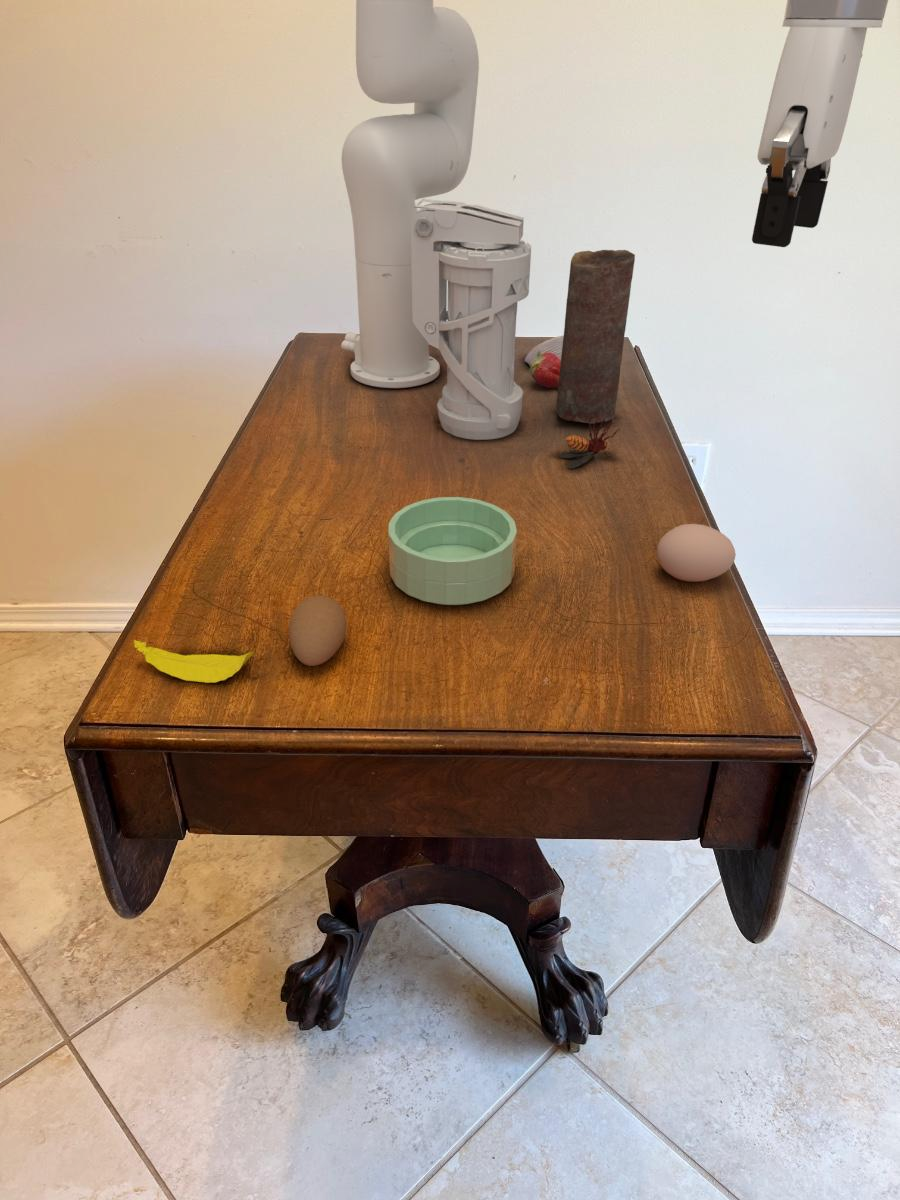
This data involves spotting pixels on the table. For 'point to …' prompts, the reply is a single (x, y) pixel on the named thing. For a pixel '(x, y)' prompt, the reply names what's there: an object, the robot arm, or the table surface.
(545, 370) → the fruit
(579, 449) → the insect
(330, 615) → the egg
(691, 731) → the table surface
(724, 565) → the egg
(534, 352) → the seashell
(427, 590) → the bowl
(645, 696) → the table surface
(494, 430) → the lantern
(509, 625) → the table surface
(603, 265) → the candle
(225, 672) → the yellow banana
